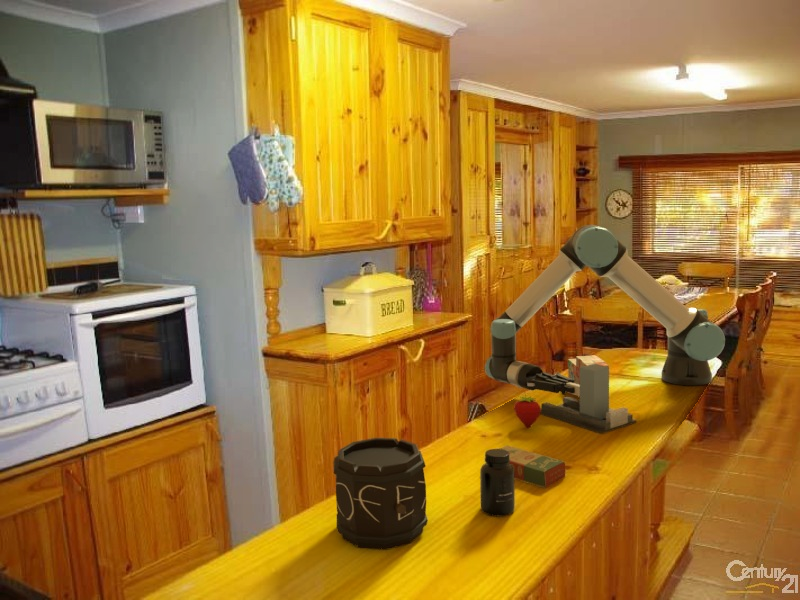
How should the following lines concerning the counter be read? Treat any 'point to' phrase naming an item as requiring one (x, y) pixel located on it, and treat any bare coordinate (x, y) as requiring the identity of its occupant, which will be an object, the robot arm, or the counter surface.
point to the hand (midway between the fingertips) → (585, 392)
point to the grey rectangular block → (594, 390)
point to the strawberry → (527, 410)
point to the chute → (587, 416)
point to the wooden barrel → (380, 493)
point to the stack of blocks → (580, 362)
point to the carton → (535, 467)
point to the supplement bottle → (497, 483)
